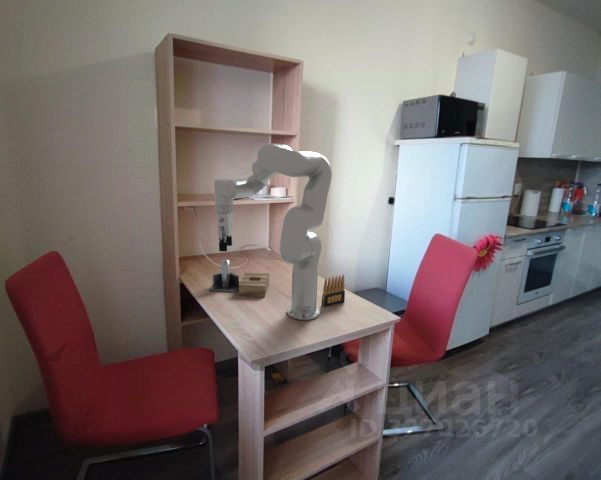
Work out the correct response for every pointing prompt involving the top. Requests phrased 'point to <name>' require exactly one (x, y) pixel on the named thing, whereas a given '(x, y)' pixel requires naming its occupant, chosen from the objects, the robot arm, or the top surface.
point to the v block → (218, 283)
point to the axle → (225, 273)
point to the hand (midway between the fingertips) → (225, 248)
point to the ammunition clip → (333, 291)
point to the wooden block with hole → (254, 284)
